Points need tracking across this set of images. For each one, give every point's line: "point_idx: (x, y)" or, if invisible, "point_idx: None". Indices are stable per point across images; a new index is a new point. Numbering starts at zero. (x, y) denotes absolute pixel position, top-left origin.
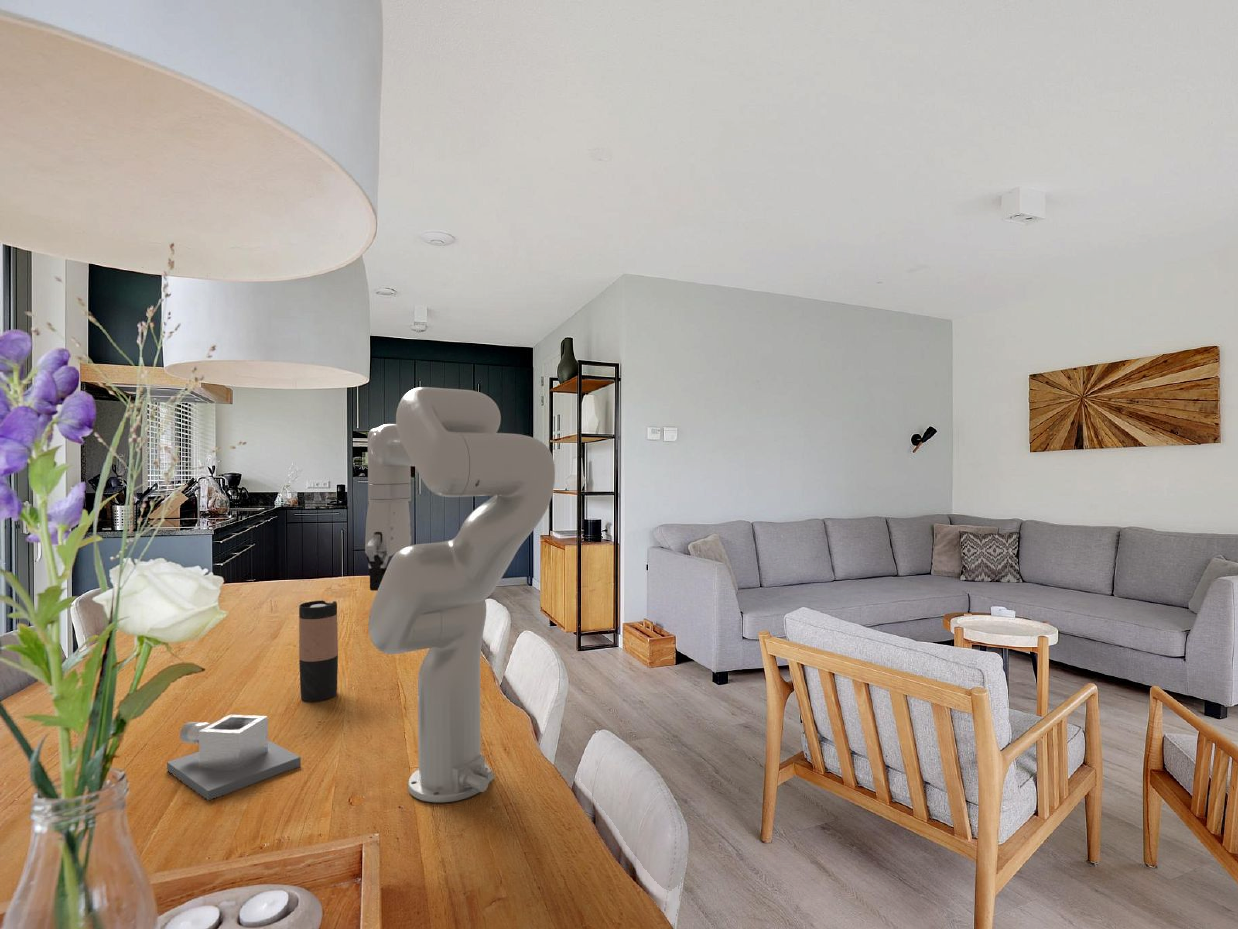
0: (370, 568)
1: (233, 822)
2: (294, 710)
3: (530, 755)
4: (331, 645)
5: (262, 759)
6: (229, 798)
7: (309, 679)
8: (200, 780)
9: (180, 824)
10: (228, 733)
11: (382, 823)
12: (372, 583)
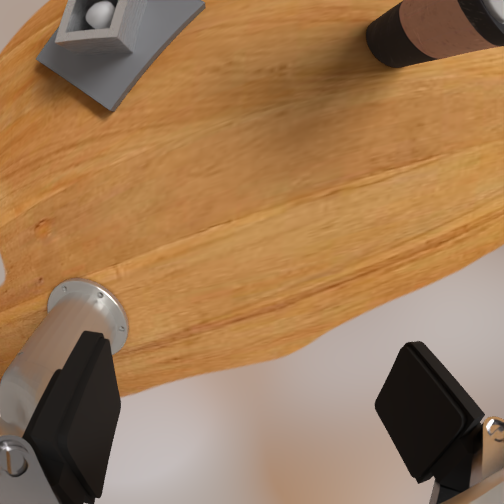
0: (11, 441)
1: (5, 121)
2: (332, 19)
3: (162, 381)
4: (435, 44)
5: (106, 62)
6: (44, 79)
7: (383, 22)
8: None
9: (7, 72)
10: (59, 27)
11: (17, 271)
12: (54, 374)
